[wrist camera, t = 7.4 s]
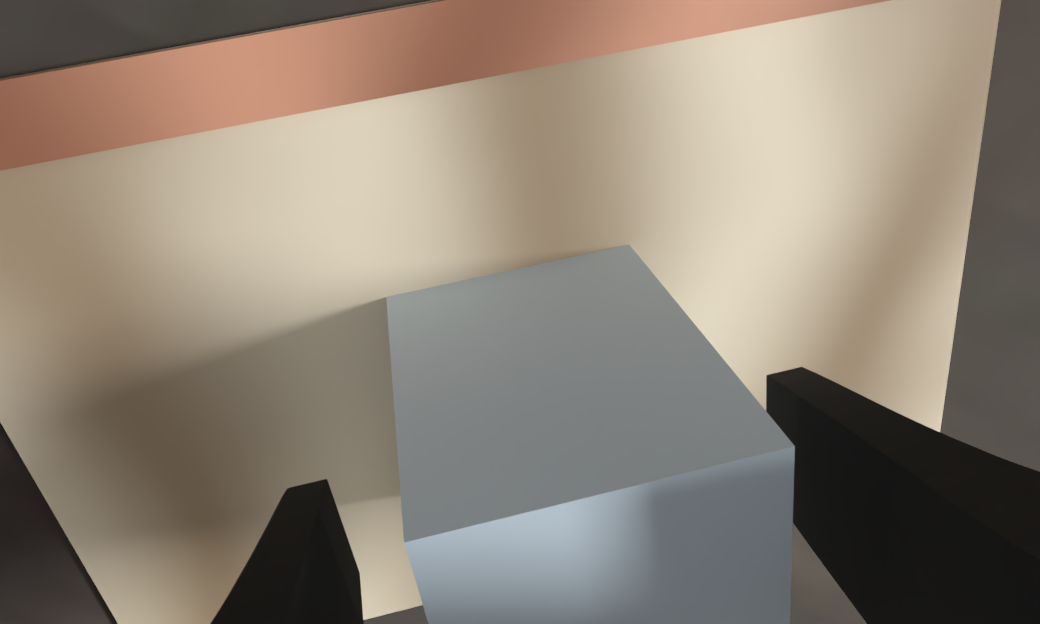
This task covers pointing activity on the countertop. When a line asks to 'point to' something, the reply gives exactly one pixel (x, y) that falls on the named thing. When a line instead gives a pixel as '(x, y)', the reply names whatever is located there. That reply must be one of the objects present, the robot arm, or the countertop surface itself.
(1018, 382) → the countertop surface
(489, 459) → the block
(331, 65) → the mat
